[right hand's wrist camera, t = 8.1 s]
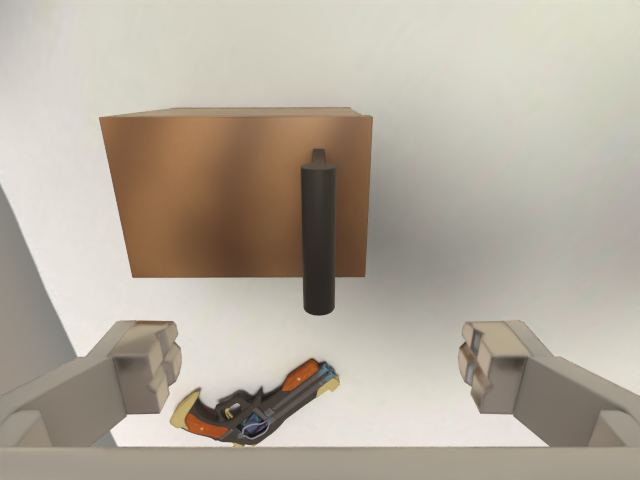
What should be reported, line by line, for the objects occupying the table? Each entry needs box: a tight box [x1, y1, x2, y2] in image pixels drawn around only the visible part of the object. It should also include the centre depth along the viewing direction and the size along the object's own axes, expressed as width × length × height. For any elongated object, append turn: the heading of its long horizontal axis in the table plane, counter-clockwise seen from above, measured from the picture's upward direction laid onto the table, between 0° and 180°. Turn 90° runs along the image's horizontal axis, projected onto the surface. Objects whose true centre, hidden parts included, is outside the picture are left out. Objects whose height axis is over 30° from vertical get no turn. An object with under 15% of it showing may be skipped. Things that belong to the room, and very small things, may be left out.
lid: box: [99, 115, 373, 316], centre depth 21 cm, size 16×10×8 cm, turn 90°
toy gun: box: [170, 360, 340, 447], centre depth 44 cm, size 3×19×10 cm
